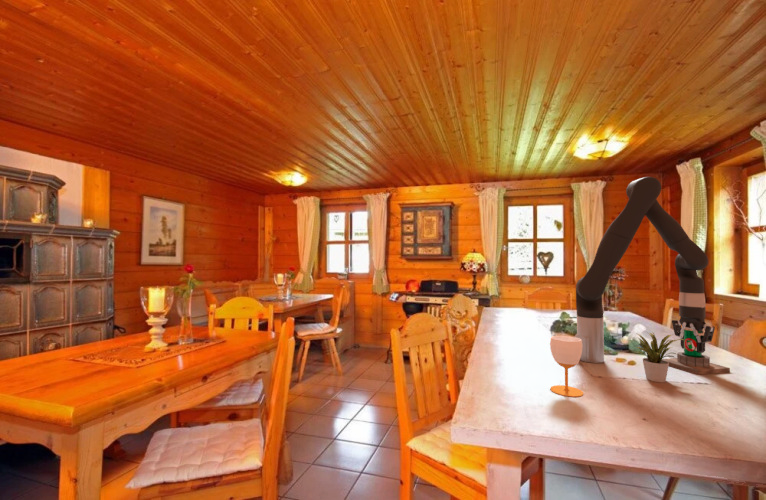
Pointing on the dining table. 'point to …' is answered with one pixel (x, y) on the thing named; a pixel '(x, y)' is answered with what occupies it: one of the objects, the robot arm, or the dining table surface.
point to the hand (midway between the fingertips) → (692, 350)
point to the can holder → (696, 364)
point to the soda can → (690, 343)
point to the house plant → (656, 358)
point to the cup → (566, 361)
